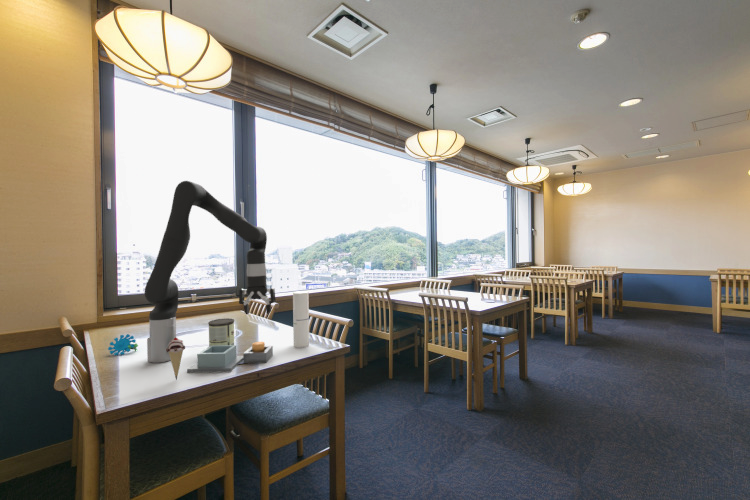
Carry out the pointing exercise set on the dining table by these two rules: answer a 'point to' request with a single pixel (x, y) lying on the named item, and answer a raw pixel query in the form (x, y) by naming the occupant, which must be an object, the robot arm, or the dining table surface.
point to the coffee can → (221, 332)
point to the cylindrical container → (301, 319)
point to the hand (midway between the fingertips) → (257, 313)
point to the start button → (258, 347)
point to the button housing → (258, 355)
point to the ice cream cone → (175, 354)
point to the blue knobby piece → (123, 345)
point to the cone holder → (217, 359)
